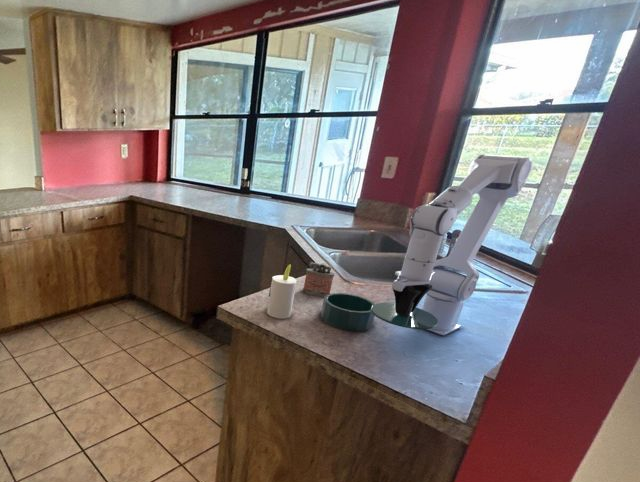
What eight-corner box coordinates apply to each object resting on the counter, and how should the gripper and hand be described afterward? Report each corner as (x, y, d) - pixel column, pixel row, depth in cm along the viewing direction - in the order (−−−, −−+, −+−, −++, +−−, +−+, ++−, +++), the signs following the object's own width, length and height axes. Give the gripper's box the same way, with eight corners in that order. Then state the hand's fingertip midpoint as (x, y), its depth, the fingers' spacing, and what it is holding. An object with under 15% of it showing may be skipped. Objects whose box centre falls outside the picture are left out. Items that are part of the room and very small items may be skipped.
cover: (389, 302, 106) (393, 286, 105) (447, 322, 96) (454, 305, 94) (358, 313, 100) (363, 296, 98) (418, 337, 89) (424, 318, 87)
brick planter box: (330, 294, 127) (337, 264, 123) (328, 298, 124) (335, 267, 121) (303, 289, 131) (309, 260, 127) (301, 292, 128) (306, 262, 125)
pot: (338, 306, 119) (342, 289, 117) (381, 324, 109) (386, 305, 107) (311, 316, 113) (314, 298, 111) (353, 335, 103) (358, 316, 101)
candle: (266, 307, 118) (274, 258, 112) (290, 310, 116) (299, 261, 110) (265, 316, 113) (273, 265, 107) (290, 320, 110) (299, 268, 105)
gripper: (417, 249, 99) (403, 299, 104) (384, 258, 92) (370, 312, 97) (450, 257, 93) (433, 310, 98) (418, 267, 86) (401, 324, 91)
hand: (404, 312), depth 97 cm, fingers closed on cover, 2 cm apart
